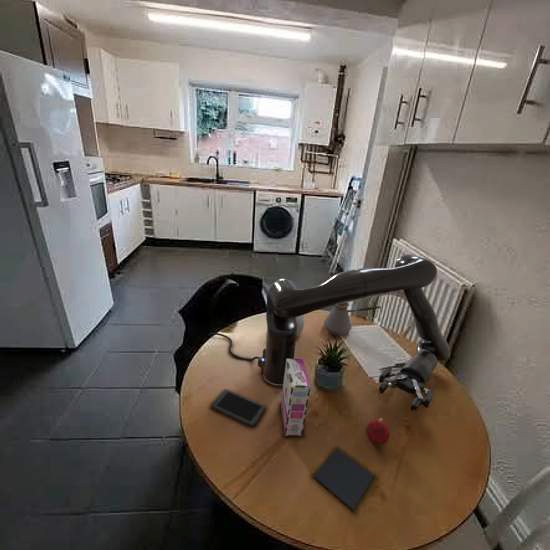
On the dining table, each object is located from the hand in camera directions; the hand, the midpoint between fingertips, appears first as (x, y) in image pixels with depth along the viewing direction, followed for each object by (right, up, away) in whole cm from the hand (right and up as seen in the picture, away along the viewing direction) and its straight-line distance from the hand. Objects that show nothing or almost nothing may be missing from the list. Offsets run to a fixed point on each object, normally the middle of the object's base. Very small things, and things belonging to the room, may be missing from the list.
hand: (396, 399), depth 84 cm
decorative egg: (-28, +10, +40) cm, 50 cm away
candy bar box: (-29, -6, +1) cm, 29 cm away
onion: (-7, -10, -4) cm, 13 cm away
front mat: (-17, -13, -13) cm, 25 cm away
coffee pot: (-3, +10, +44) cm, 45 cm away
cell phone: (-44, -4, +3) cm, 44 cm away
